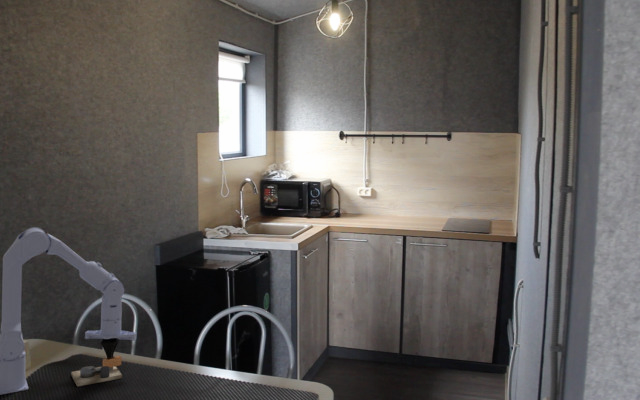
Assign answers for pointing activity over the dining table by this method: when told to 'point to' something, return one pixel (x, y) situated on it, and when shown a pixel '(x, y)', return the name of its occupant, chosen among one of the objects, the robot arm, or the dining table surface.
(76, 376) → the board
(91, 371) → the crank
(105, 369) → the post
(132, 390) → the dining table surface
